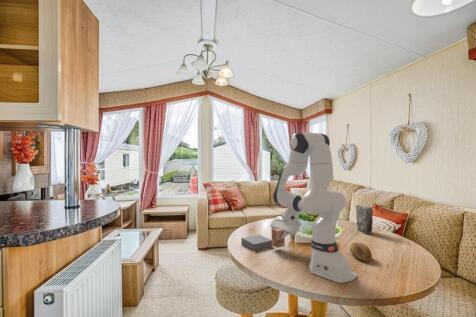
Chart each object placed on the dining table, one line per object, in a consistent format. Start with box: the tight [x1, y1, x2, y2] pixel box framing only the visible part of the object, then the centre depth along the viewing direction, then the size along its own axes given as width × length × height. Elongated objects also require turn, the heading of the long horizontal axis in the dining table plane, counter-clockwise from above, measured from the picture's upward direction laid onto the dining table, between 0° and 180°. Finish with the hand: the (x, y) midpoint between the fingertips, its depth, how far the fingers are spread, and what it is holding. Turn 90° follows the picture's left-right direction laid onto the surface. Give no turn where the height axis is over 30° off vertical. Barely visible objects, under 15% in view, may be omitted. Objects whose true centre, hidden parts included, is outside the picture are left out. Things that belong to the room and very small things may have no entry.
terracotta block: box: [271, 228, 286, 249], centre depth 153 cm, size 6×6×10 cm
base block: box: [240, 234, 273, 252], centre depth 161 cm, size 14×14×4 cm
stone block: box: [355, 204, 374, 236], centre depth 191 cm, size 13×7×20 cm, turn 11°
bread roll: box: [349, 242, 373, 262], centre depth 142 cm, size 10×15×8 cm, turn 3°
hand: (277, 236), depth 153 cm, fingers closed on terracotta block, 5 cm apart
